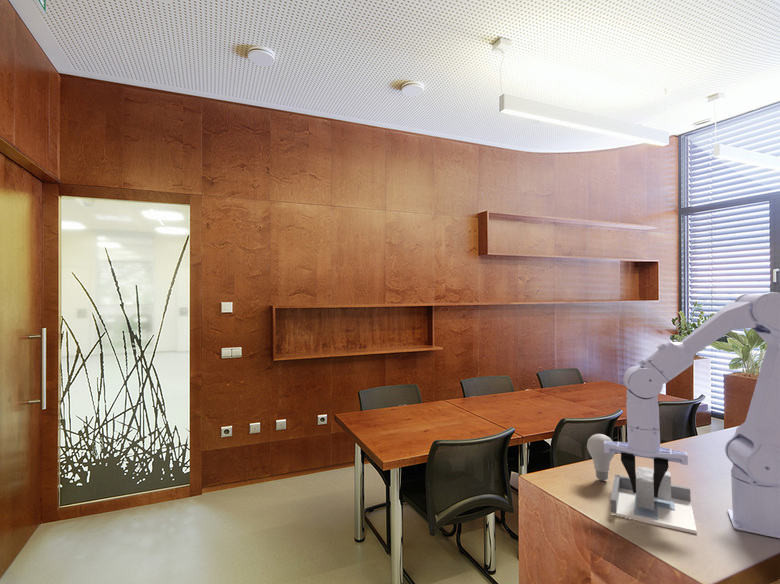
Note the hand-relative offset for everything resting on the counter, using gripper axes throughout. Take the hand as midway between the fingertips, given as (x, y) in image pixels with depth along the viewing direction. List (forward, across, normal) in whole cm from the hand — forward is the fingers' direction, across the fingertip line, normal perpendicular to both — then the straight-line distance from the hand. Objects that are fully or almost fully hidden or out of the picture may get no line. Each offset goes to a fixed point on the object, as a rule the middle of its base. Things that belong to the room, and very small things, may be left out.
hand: (645, 493), depth 85 cm
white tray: (+4, -1, -2) cm, 4 cm away
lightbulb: (+4, +9, -12) cm, 15 cm away
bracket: (+2, -2, -1) cm, 2 cm away
